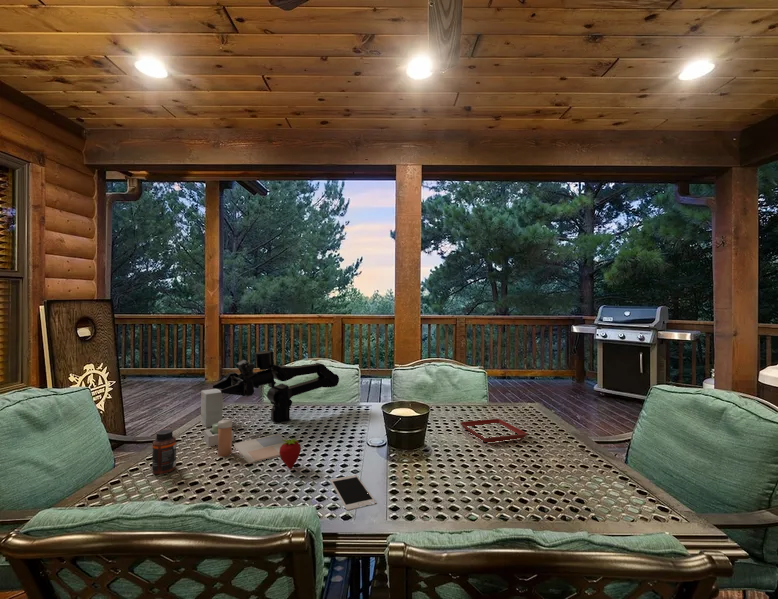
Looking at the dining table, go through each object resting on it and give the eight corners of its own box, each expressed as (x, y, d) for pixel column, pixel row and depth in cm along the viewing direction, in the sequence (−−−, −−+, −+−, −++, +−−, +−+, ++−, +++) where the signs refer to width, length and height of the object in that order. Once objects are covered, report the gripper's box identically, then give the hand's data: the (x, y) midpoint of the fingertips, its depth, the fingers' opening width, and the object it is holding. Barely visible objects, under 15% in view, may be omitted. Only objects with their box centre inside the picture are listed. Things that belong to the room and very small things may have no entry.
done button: (223, 431, 133) (223, 421, 133) (226, 435, 130) (226, 425, 130) (210, 434, 131) (211, 424, 131) (213, 437, 127) (213, 427, 127)
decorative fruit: (275, 473, 106) (275, 438, 106) (285, 462, 114) (285, 429, 114) (294, 475, 105) (295, 440, 106) (304, 463, 113) (304, 430, 113)
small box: (222, 424, 147) (223, 391, 147) (205, 428, 143) (205, 394, 143) (217, 419, 153) (217, 388, 153) (200, 422, 149) (200, 390, 149)
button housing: (227, 435, 136) (227, 425, 136) (233, 441, 129) (233, 431, 129) (203, 439, 131) (203, 429, 131) (208, 447, 125) (208, 436, 125)
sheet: (278, 435, 136) (278, 433, 136) (298, 451, 122) (298, 449, 122) (232, 445, 126) (232, 443, 126) (248, 464, 112) (248, 462, 112)
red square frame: (498, 426, 150) (498, 417, 150) (528, 442, 133) (528, 433, 133) (459, 430, 144) (459, 422, 145) (484, 448, 127) (484, 438, 127)
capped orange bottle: (229, 450, 122) (230, 418, 122) (233, 454, 119) (233, 422, 119) (216, 453, 120) (216, 421, 120) (219, 457, 116) (219, 424, 116)
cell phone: (346, 512, 88) (346, 509, 88) (329, 481, 103) (329, 479, 103) (377, 505, 91) (377, 502, 91) (356, 476, 106) (356, 474, 106)
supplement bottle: (180, 467, 109) (181, 429, 109) (162, 476, 104) (163, 436, 104) (165, 464, 111) (166, 427, 111) (147, 473, 106) (147, 433, 106)
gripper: (246, 356, 153) (206, 364, 142) (266, 362, 139) (223, 371, 128) (249, 382, 153) (209, 392, 143) (269, 391, 140) (226, 402, 129)
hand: (216, 389), depth 136 cm, fingers open, 9 cm apart
